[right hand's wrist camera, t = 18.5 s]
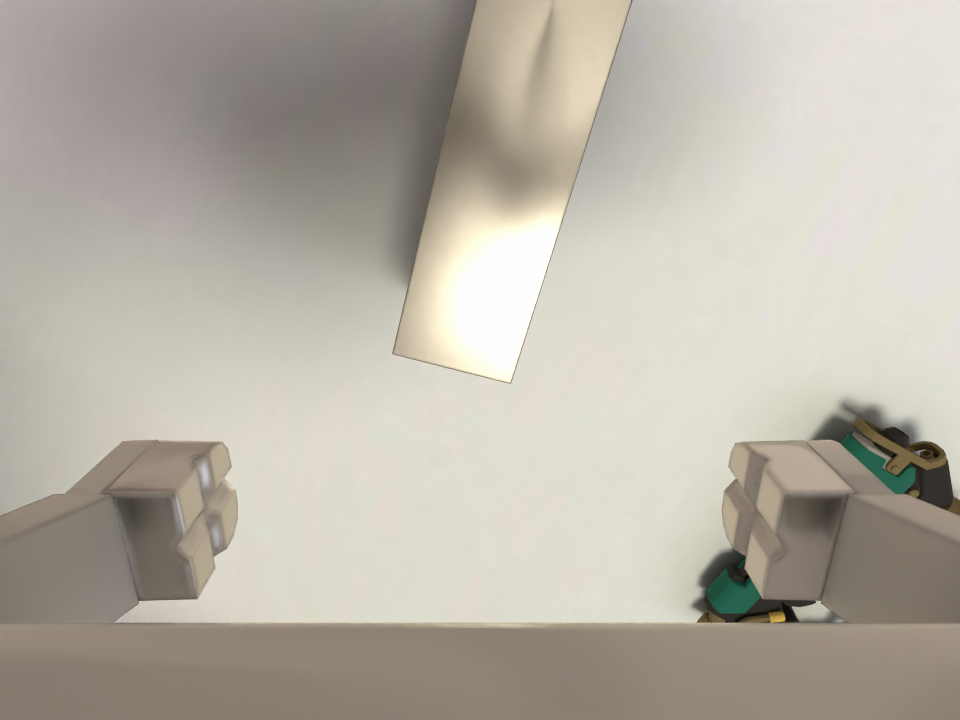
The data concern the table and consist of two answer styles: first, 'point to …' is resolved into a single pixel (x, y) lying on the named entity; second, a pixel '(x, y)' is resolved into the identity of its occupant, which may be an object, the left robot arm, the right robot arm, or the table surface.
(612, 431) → the table surface
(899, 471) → the spray gun
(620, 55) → the table surface
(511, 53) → the bar
